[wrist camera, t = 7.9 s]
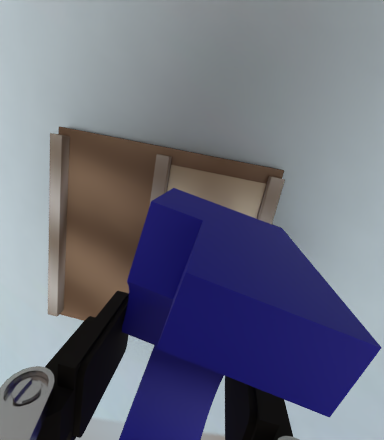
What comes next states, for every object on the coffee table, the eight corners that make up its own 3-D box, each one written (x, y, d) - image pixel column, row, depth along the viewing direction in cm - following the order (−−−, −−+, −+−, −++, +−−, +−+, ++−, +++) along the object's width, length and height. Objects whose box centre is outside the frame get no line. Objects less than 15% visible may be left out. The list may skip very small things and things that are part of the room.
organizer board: (68, 128, 17) (50, 125, 15) (280, 169, 15) (287, 171, 14) (62, 305, 21) (47, 319, 19) (228, 348, 20) (229, 367, 18)
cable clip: (173, 187, 9) (91, 236, 4) (281, 228, 9) (381, 347, 3) (104, 397, 13) (6, 596, 7) (183, 429, 12) (148, 660, 7)
